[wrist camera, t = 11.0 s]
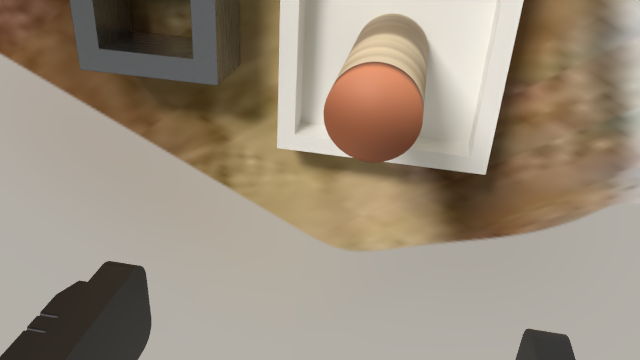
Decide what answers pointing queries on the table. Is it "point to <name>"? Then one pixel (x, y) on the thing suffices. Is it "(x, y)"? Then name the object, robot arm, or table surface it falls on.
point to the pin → (380, 91)
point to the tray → (441, 80)
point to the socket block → (158, 42)
